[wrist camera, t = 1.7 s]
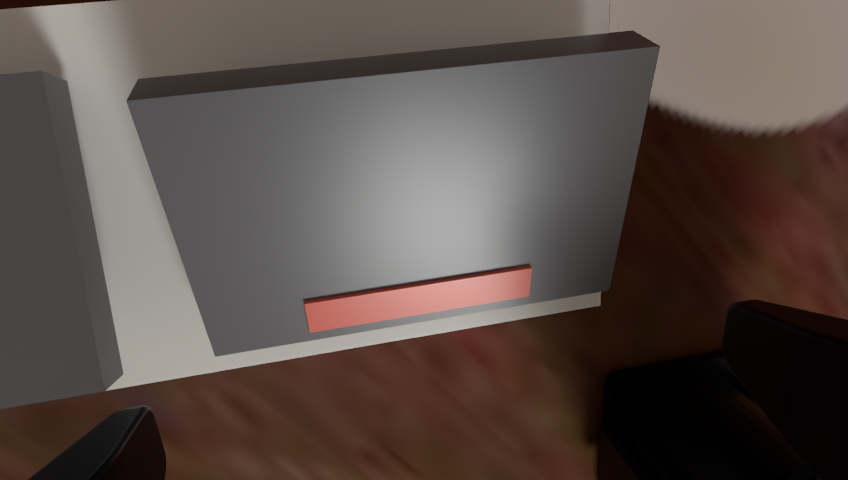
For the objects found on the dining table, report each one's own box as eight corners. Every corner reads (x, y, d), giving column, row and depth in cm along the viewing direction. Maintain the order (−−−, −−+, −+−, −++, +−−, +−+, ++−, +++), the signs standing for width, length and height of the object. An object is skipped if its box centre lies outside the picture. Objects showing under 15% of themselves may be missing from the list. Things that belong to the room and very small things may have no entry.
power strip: (563, -34, 18) (627, -49, 14) (562, 269, 21) (612, 317, 18) (-415, 42, 14) (-654, 48, 10) (-213, 393, 18) (-341, 484, 14)
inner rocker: (632, 30, 14) (663, 47, 13) (591, 265, 18) (611, 293, 17) (138, 79, 12) (124, 102, 11) (218, 325, 16) (215, 360, 15)
